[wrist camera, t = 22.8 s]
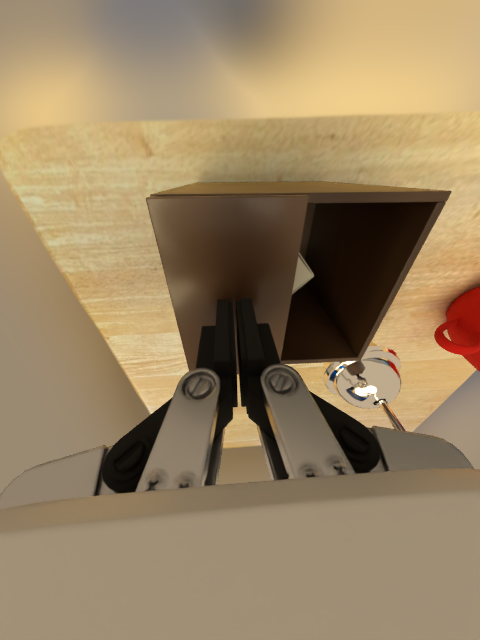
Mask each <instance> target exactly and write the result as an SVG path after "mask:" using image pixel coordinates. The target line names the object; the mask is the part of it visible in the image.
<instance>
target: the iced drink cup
mask: <svg viewBox="0 0 480 640" xmlns="http://www.w3.org/2000/svg"><path fill="white" fill-rule="evenodd" d="M324 365H325V372H324V375H323V382H324V384H325V386H326V387H327V388H328V390H329V391H330V392H332V393H333V394H335V395H338V396H340V397H341V398H342V399H344V400H345V401H346V402H348V403H349V404H351V405H354V406H356V407H359V408H365V409H375V408H380V407H381V409H382V410H383V412H384V413H385V415H386V416H387V418H388V420H389V421H390V423H391V424H392V426H393V427H394V429H396V430H402V431H405V429H404V428H403V426H402V425H401V423H400V422H399V421H398V419H397V418H396V416H395V415H394V413H393V412H392V411H391V409H390V408H389V406H388V404H389V403H390V402H392V401H393V400H394V399H395V398H396V396H397V395H398V393H399V392H400V388H401V377H400V373H399V371H400V368H401V362H400V360H399V358H398V356H397V354H396V353H395V352H394V351H393V350H392V349H390V348H388V347H384V346H378V345H377V344H375V343H373V342H372V341H371V342H370V344H369V346H368V348H367V350H366V352H365V354H364V355H363V357H362V359H361V361H344V362H324Z"/></svg>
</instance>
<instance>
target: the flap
mask: <svg viewBox="0 0 480 640" xmlns="http://www.w3.org/2000/svg"><path fill="white" fill-rule="evenodd" d="M308 199H309V196H307V195H264V196H182V197H147V198H146V201H147V205H148V209H149V213H150V217H151V221H152V225H153V229H154V233H155V237H156V241H157V245H158V249H159V253H160V257H161V261H162V265H163V269H164V273H165V277H166V281H167V285H168V289H169V293H170V297H171V301H172V305H173V309H174V313H175V316H176V320H177V324H178V328H179V332H180V336H181V340H182V344H183V348H184V352H185V356H186V360H187V364H188V368H189V371H191V370H193V369H196V362H197V355H198V349H199V342H200V336H201V329H202V326H212V325H216V310H217V299H228V302H233V314H234V330H235V345H236V362H237V374H239V365H238V352H237V322H236V301H240V298H252V303H253V307H254V312H255V316H256V321H257V324H258V323H268V324H269V326H270V329H271V332H272V336H273V339H274V342H275V346H276V349H277V352H278V356H279V359H280V360H281V354H282V348H283V343H284V337H285V331H286V325H287V320H288V314H289V308H290V303H291V297H292V291H293V285H294V280H295V274H296V268H297V262H298V257H299V251H300V245H301V239H302V234H303V228H304V222H305V216H306V211H307V205H308Z"/></svg>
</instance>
